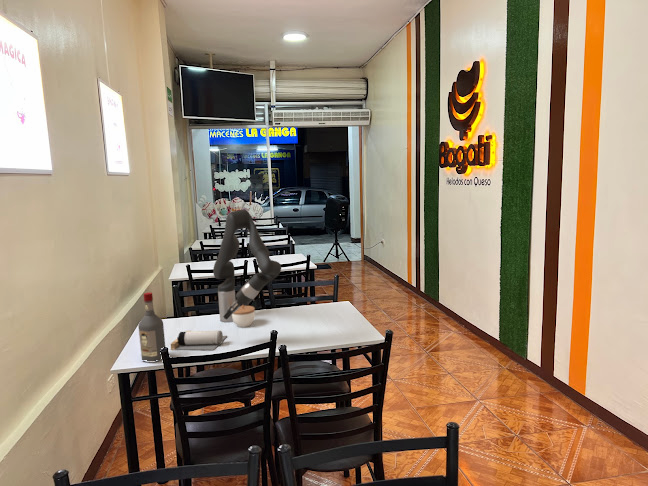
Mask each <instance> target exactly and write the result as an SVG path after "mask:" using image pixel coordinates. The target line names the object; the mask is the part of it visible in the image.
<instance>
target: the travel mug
mask: <svg viewBox="0 0 648 486" xmlns="http://www.w3.org/2000/svg"><path fill="white" fill-rule="evenodd" d="M188 331H189V332H186V331H180V332H179V333H178V336H177V338H176V339H177V341H178V342H179V344H180V345H198V344H220V345H221V344H222V343H223V342H222V339H223V336H224V335H223V332H222V330H198V331H192V330H188Z"/></svg>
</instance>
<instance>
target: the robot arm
mask: <svg viewBox="0 0 648 486" xmlns="http://www.w3.org/2000/svg"><path fill="white" fill-rule="evenodd" d="M243 229H247V231H248V233H249V239H248V247H249V250H250V252H251V254H252V255H253V256H254V258H255V260H256V264H257V265H258V268H259V271H260V272H257V273H255V274H253V275H252V277H251V278H250V279H249V280H248V281H246V283H244V285H243V286H242V287H241V288H240V289H239V290H238V291H237V293H236V291H235V290H236V289H235V287H236V286H235V285H236V284H235V283H236V282H235V266H234V262H232V260H233V259H234V258H235V257H236V256H237V254H238V252H239V248H240V240H239V238H238V237H237V235H236V234H235V233H236V231H239V230H243ZM220 243H221V244H220V248H219V253H218V255H217V258H216V260H215V263H214V265H213V271H212V272H213V273H212V274H213V276H214V278H215V279H216V280H223V279H225V280H224V281H223V282H222V283H220V284H219V285H218V286H217V297H218V308H219V319H220V322H223V323H230V322H233V319H232V314H233V313H234V312H236V311H237V310H238V309H239V308H240V307H241V306H242V305H244V306H249V304H250V303H251V302H252V301H254V299H255V298H256V297H257V296H258V294H259V293H260V292H261V291H262V289H263V288H264V287H265V286H266V285H268V284H269V283H270V282H271V281H273V280H274V279H276V278H277V277H278V276H279V275H280V273H281V271H282V265H281V263H280V262H279V261H276V260H273V259H271V258H270V257H271V256H270V255H271V254H270V251H269V249H268V247H267V246H266V244H265V243H264V242H263V239H262V237H261V236H260V234H259V231H258V229H257V227H256V225H255V222H254V220H253V218H252V215H251V214H250V212H249V211H248V210H247V209H239V210H233V211H230V212H228V214H227V216H226V218H225V226H224V232H223V237H222V240H221V242H220Z"/></svg>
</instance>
